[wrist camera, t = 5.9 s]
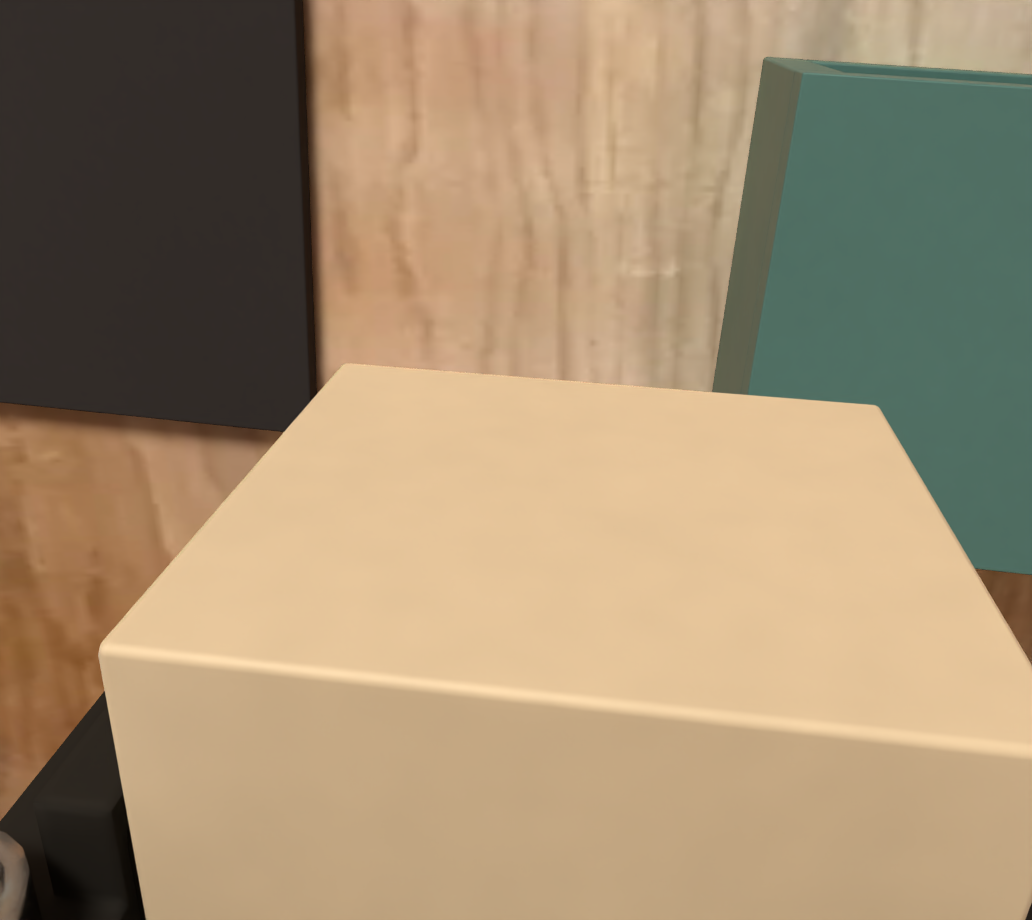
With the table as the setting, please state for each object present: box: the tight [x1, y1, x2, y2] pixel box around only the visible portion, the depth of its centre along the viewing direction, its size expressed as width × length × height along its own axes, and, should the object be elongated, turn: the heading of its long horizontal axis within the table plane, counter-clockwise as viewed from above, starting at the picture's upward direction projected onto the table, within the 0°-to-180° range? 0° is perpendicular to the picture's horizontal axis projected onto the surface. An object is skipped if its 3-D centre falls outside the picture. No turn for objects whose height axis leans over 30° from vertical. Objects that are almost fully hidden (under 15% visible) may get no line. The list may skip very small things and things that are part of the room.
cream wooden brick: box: [98, 363, 1032, 920], centre depth 8 cm, size 6×5×5 cm
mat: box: [0, 0, 317, 432], centre depth 31 cm, size 20×14×1 cm
